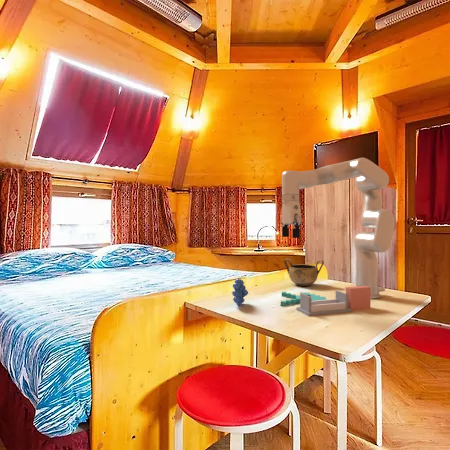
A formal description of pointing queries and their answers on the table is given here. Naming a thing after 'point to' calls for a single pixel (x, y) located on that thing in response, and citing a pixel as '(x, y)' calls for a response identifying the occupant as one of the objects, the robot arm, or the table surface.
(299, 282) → the ceramic bowl
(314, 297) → the alien figure
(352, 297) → the salmon pink rectangular block
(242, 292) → the grapes
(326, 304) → the track
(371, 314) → the table surface
